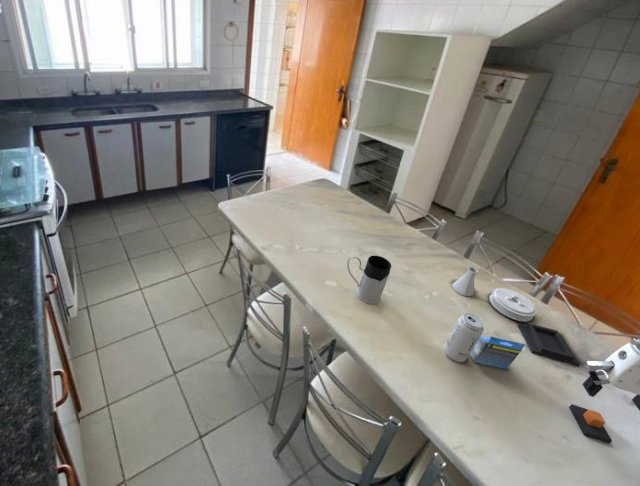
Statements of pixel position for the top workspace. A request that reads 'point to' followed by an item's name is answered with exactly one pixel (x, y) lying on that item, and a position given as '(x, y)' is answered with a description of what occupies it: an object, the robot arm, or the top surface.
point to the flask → (466, 282)
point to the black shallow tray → (547, 343)
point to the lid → (512, 304)
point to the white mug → (372, 279)
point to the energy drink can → (464, 337)
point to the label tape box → (496, 351)
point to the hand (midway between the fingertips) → (612, 398)
